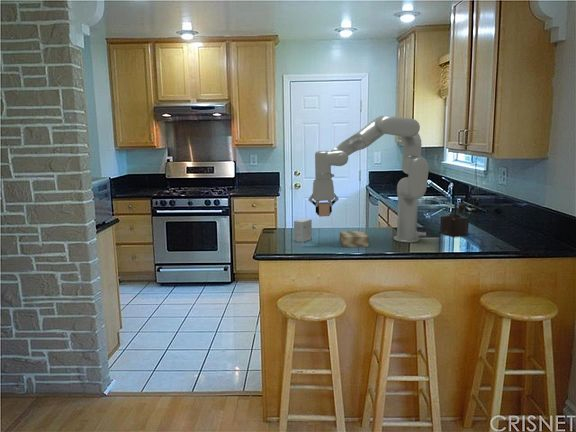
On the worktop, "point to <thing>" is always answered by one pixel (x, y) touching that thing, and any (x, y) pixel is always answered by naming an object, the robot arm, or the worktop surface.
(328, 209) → the terracotta block
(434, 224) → the worktop surface
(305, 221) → the small box
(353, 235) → the maple base block
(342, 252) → the worktop surface
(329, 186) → the robot arm
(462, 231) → the dark brown boxy piece
